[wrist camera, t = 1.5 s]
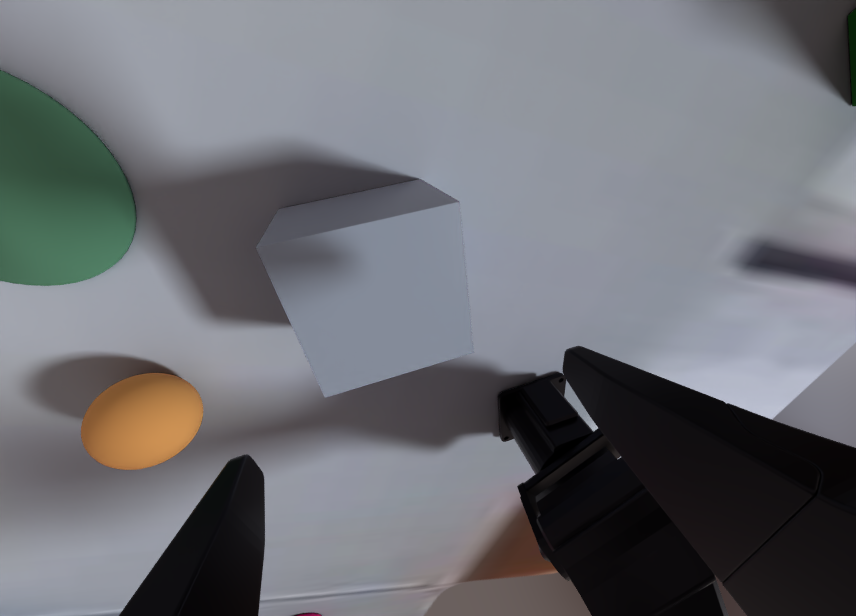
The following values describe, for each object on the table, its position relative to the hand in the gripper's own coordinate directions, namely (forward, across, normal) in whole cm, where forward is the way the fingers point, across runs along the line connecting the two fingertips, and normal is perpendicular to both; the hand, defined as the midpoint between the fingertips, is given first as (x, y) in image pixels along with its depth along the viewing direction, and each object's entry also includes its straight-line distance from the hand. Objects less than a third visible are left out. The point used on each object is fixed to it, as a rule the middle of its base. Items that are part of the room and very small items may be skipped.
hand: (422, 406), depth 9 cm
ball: (+10, +14, +6) cm, 18 cm away
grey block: (+12, 0, +1) cm, 12 cm away
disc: (+13, +14, -6) cm, 20 cm away
